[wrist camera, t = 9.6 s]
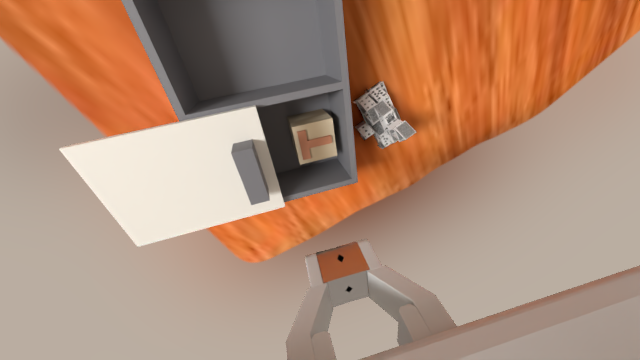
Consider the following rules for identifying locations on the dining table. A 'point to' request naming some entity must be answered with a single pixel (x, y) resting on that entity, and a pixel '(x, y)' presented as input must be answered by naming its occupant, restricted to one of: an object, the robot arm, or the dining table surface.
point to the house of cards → (381, 117)
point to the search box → (257, 72)
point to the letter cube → (312, 135)
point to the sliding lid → (181, 174)
